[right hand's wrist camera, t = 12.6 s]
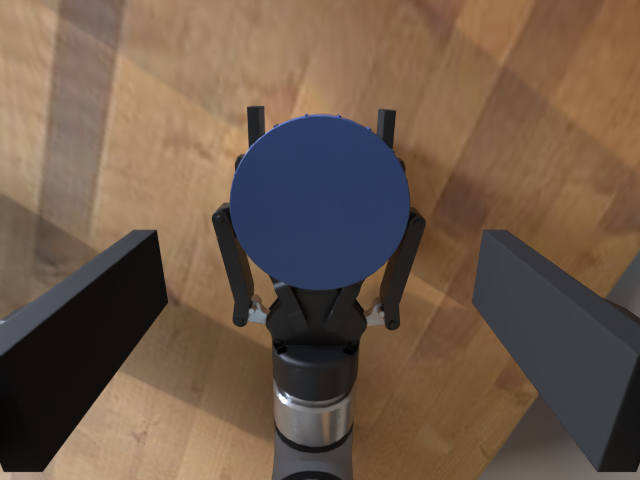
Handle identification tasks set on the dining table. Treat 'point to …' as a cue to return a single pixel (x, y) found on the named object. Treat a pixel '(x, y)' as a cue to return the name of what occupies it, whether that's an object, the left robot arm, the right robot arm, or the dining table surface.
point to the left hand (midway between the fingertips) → (321, 108)
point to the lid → (319, 202)
